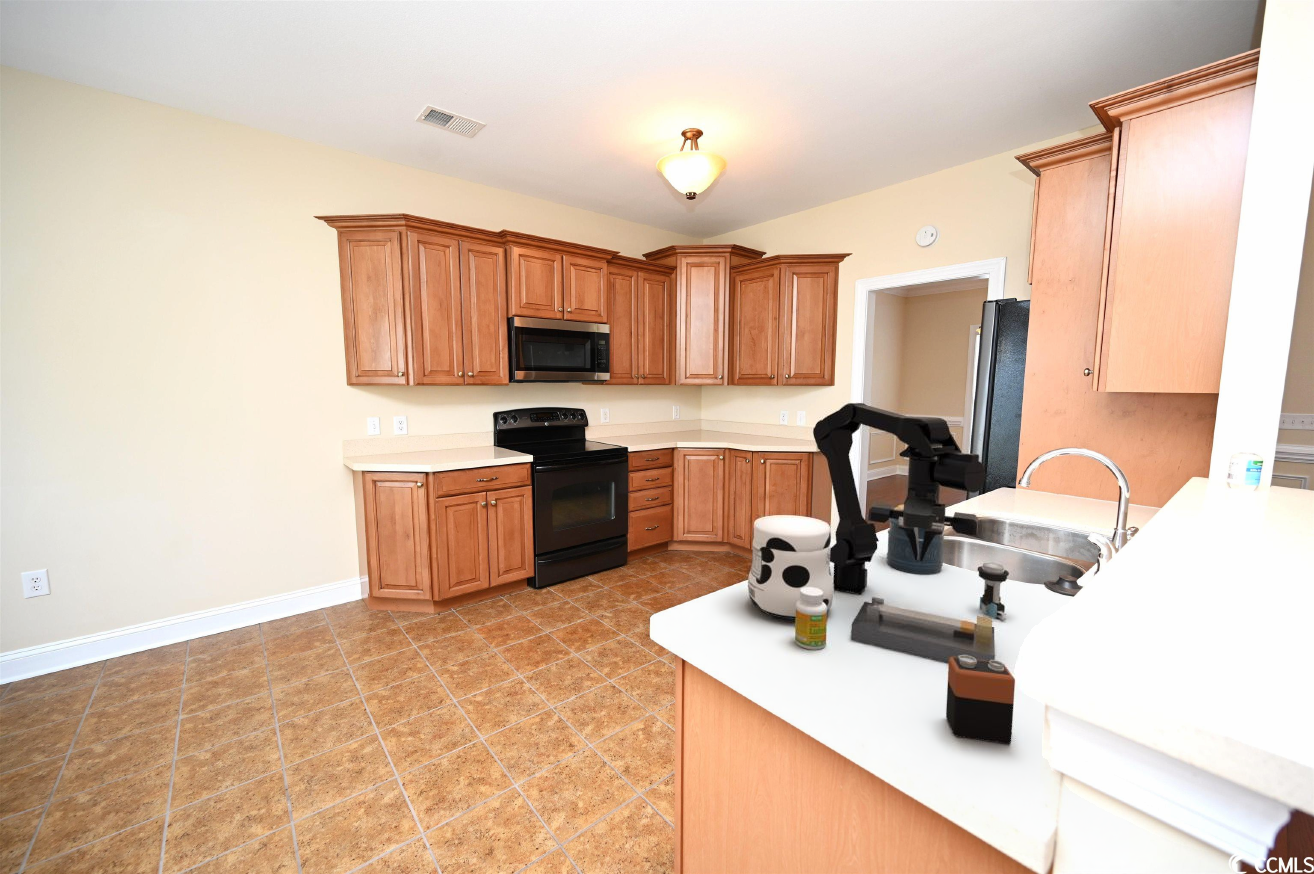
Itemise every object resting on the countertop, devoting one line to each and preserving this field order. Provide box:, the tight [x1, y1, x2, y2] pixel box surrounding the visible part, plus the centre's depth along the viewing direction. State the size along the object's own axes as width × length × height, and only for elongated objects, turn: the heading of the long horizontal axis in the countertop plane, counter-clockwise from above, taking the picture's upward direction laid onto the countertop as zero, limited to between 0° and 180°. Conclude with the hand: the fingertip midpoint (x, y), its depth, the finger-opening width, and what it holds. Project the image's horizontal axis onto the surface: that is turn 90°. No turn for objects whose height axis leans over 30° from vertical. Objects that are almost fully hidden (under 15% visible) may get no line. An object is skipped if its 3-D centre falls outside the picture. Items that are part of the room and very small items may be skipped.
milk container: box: [747, 514, 835, 620], centre depth 110 cm, size 17×17×18 cm
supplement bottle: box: [794, 587, 828, 651], centre depth 95 cm, size 5×5×10 cm
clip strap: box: [873, 602, 975, 634], centre depth 96 cm, size 17×3×1 cm, turn 58°
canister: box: [886, 503, 945, 575], centre depth 136 cm, size 13×13×18 cm
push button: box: [977, 562, 1010, 620], centre depth 107 cm, size 7×5×10 cm
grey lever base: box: [850, 596, 996, 664], centre depth 96 cm, size 22×12×6 cm, turn 58°
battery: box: [945, 655, 1016, 745], centre depth 71 cm, size 4×7×10 cm, turn 75°
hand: (919, 560), depth 105 cm, fingers closed
